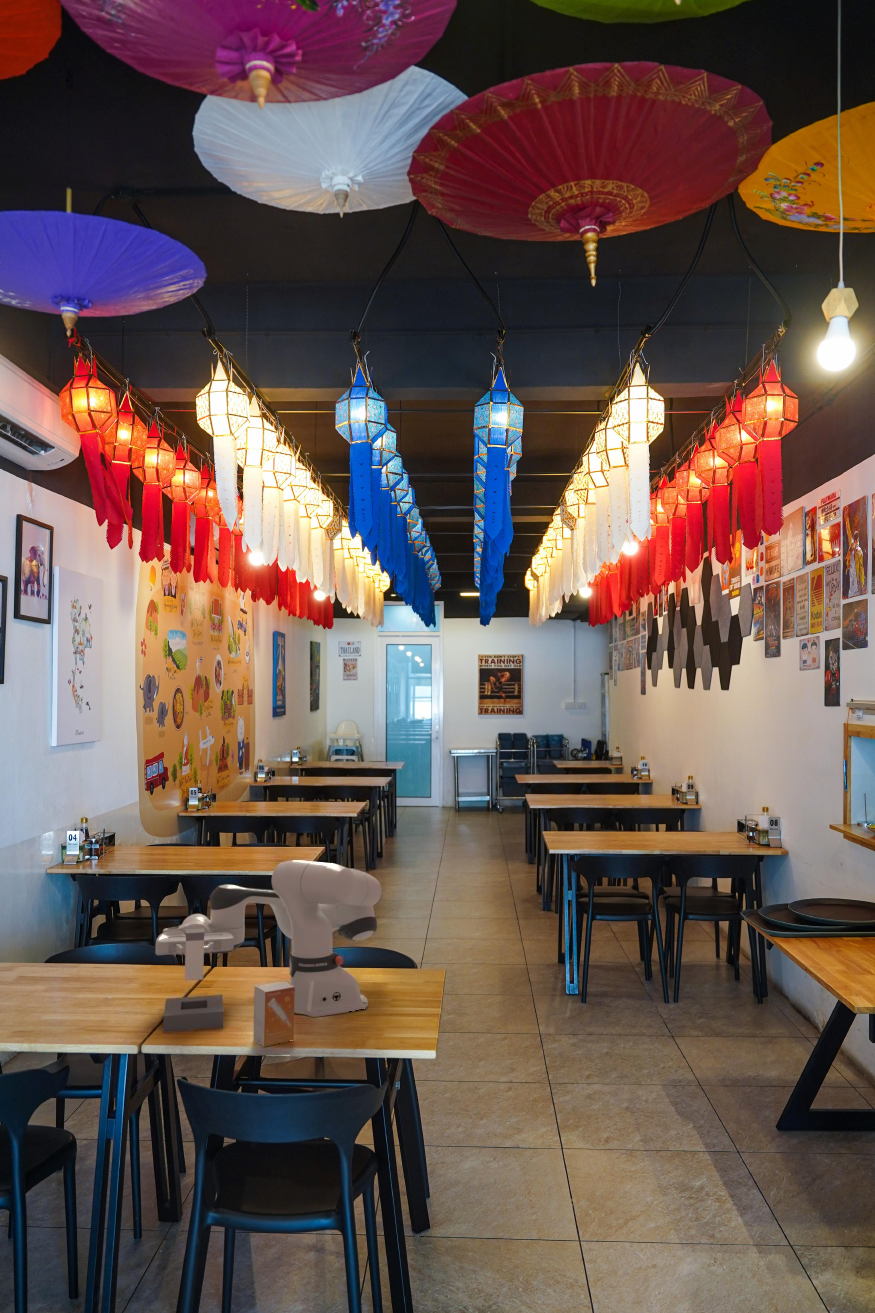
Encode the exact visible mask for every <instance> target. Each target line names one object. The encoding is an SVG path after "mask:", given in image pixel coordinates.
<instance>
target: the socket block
mask: <svg viewBox="0 0 875 1313" xmlns="http://www.w3.org/2000/svg"><path fill="white" fill-rule="evenodd" d="M223 999H224V997H223V994H213V995H211V994H210V995H201V996H199V995H198V996H187V997H186V996H185V997H183V996H182V997H172V998H171V997H170V998H166V999H165V1003H164V1004H165V1005H164V1011H163V1021H162V1022H163V1027H162V1032H163V1033H174V1032H186V1031H196V1030H198V1031H199V1030H210V1029H211V1030H212V1029H220V1028H222V1029H223V1028H224V1012H225V1011H224V1000H223Z"/></svg>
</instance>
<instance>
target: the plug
mask: <svg viewBox="0 0 875 1313" xmlns="http://www.w3.org/2000/svg"><path fill="white" fill-rule="evenodd" d="M184 956H185V957H184V963H185V964H184V981H188V982H189V981H202V980H204V961H205V960H204V959H205V958H204V956H205V953H204V928H202V929H186V952H185V955H184Z"/></svg>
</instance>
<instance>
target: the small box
mask: <svg viewBox="0 0 875 1313" xmlns="http://www.w3.org/2000/svg"><path fill="white" fill-rule="evenodd" d="M253 993H254V995H253V996H254V997H253V1000H254V1001H253V1035H252V1036H253V1038H252V1039H253V1041H254V1042H256V1043H257V1044H259V1045H260V1046H262V1047H263V1048H265V1047H269V1046H274V1045H273V1044H275V1045H279V1043H280V1044H284V1042H285V1043H289V1042H288V1041H290V1040H293V1041H294V1038H295V1037H294V1032H295V1013H294V999H295V987H294V986H292V985H291V984H290V982H287V981H285V980H282V981H277V982H270V983H265V984H259V985H254V992H253ZM290 1042H291V1041H290Z"/></svg>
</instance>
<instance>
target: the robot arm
mask: <svg viewBox="0 0 875 1313" xmlns="http://www.w3.org/2000/svg"><path fill="white" fill-rule="evenodd" d="M271 887H272V889H266V888H256V887H255V888H254V887H243V886H239V885H234V884H223V885H218V886H217V887H216V888H215V889H214V890H213V891H212V892H211V894H210V895H209V906H210V907H209V908H210V919H209V918H208V917H207V916H206V915H204V914H202V913H194V914H191V915H189V916H187V917H186V918H185V919H184V920H183V921H182V924H181V925H177V926H172V927H168V928H167V927H166V928H164V929H163V930H162V933H160V934H159V935H158V937H157V938H156V941H155V955H157V956H165V955H179V956H180V955H181V956H183V955H184V956H185V952H186V929H202V928H204V954H228V953H233V952H234V951H235V950H237V949H238V948H240V947H241V945H243V944H244V942H245V929H246V928H245V927H246V926H245V925H246V924H245V919H246V918H245V916H246V914H245V913H246V907H247V904H249V903H254V904H265V905H269V906H270V907H271V908H272V911H273V913H274V916H275V920H276V924H277V925H278V927H279V929H280V931H281V932H282V933H283V934H284V935H285V937H287V938H289V939H290V940H291V953H290V956H289V975H290V979H289V980H290V982H289V984H291V985H292V986H294V987H295V999H294V1014H300V1015H304V1016H309V1017H313V1018H317V1017H324V1016H331V1015H338V1014H343V1013H350V1012H349V1011H352V1012H356V1011H355V1010H359V1009H364V1008H366V1007H367V1006H368V1007H369V1002H368V1001H369V1000H368V998H367V997H366V996H365V994H363V993H361V991H360V985H359V983H358V980H357V978H356V977H354V976H353V975H352V974H351V973H349V972H348V971H347V970H345V969H344V968H343V967H342V966H341V965H343V964H344V959H343V957H342V956H340V954H339V953H337V952H336V951H333V934H334V933H333V932H335V931H336V933H337V934H338V935H339V936H341V937H344V938H345V939H346V940H349V941H353V942H357V941H358V942H359V941H364V940H366V939H368V938H370V937H371V936H373V935H374V934H375V933H376V932H377V929H378V921H377V917H376V916H375V915H376V914H375V909H374V905H376V904H377V903H378V902H379V900H380V899H381V896H382V886H381V883H380V881H379V880H378V879H377V878H376V877H374V876H373V875H371V874H369V873H367V872H364V871H362V870H359V869H357V868H348V867H345V866H343V865H340V864H337V863H333V862H331V863H330V862H321V861H311V860H302V859H301V860H300V859H292V860H286V861H282V862H280V863H278V864H277V866H276V867H275V868H274V869H273V872H272V875H271ZM368 1007H367V1008H368ZM367 1008H366V1009H367ZM359 1011H360V1010H359Z"/></svg>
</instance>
